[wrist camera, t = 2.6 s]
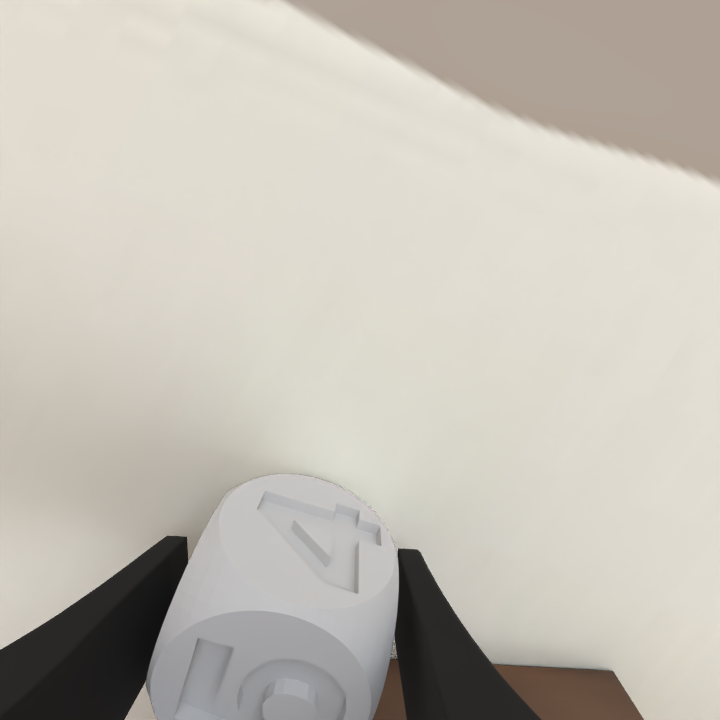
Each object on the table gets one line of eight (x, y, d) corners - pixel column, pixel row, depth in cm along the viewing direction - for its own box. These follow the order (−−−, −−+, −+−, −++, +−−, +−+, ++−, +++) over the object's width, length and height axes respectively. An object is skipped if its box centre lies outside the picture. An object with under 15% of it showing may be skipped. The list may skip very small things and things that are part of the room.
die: (248, 454, 12) (171, 575, 7) (392, 498, 12) (411, 643, 8) (212, 576, 13) (123, 753, 8) (345, 614, 13) (335, 806, 9)
